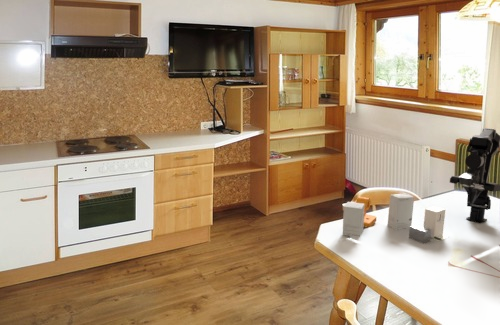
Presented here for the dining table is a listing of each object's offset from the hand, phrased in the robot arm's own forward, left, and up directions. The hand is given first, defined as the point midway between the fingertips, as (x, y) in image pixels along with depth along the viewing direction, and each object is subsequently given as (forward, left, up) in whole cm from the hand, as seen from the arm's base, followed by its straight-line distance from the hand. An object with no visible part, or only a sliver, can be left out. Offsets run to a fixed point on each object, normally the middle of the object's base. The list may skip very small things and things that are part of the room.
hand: (471, 203), depth 184 cm
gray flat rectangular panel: (+20, -4, -12) cm, 24 cm away
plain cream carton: (+20, -3, -11) cm, 23 cm away
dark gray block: (+27, -4, -11) cm, 30 cm away
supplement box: (+42, -25, -13) cm, 51 cm away
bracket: (+29, -30, -13) cm, 44 cm away
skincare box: (+21, -18, -13) cm, 31 cm away
